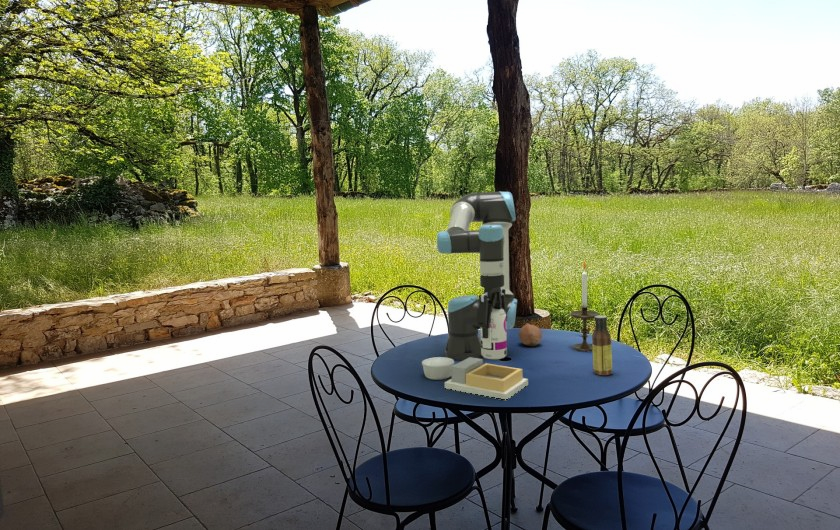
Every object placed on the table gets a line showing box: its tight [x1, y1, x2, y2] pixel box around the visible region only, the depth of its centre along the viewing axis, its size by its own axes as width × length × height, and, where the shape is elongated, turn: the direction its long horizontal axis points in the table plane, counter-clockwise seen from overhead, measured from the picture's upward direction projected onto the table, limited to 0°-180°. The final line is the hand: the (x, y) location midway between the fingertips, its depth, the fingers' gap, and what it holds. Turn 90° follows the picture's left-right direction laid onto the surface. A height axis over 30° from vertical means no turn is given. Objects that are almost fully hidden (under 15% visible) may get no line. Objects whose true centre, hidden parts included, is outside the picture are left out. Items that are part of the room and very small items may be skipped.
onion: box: [518, 322, 543, 347], centre depth 222 cm, size 10×9×10 cm
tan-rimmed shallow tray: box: [444, 357, 529, 401], centre depth 175 cm, size 22×16×7 cm
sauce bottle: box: [591, 314, 613, 376], centre depth 183 cm, size 6×6×20 cm
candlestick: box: [569, 261, 600, 353], centre depth 213 cm, size 11×11×35 cm
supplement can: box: [480, 308, 508, 360], centre depth 171 cm, size 8×8×15 cm
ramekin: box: [421, 356, 455, 381], centre depth 188 cm, size 11×11×5 cm
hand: (493, 344), depth 172 cm, fingers closed on supplement can, 8 cm apart
